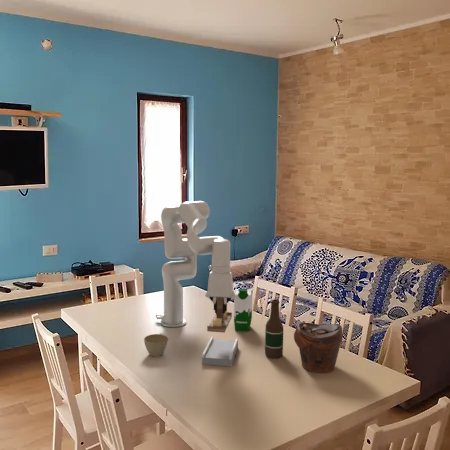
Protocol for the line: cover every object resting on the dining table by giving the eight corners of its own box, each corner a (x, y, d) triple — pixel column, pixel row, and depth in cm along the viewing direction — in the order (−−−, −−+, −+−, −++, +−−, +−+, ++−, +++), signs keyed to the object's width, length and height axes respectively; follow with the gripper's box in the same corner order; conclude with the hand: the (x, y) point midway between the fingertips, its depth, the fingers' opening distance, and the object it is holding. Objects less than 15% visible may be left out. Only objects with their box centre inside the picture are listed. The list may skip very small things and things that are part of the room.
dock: (201, 364, 195) (201, 354, 195) (211, 345, 215) (211, 336, 214) (231, 366, 194) (231, 356, 193) (237, 347, 213) (238, 338, 213)
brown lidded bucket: (284, 361, 199) (286, 319, 197) (324, 354, 207) (327, 314, 205) (307, 380, 183) (310, 334, 181) (350, 372, 191) (353, 328, 188)
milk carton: (232, 331, 234) (233, 290, 231) (234, 324, 243) (235, 285, 240) (251, 331, 233) (252, 291, 230) (252, 325, 242) (252, 286, 239)
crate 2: (218, 317, 207) (218, 310, 207) (219, 314, 210) (219, 308, 210) (225, 317, 207) (225, 310, 207) (226, 315, 210) (226, 308, 209)
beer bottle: (284, 352, 208) (286, 298, 205) (280, 359, 201) (282, 303, 198) (267, 350, 211) (268, 296, 207) (262, 357, 203) (263, 301, 200)
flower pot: (139, 357, 202) (139, 340, 201) (151, 348, 211) (151, 332, 210) (161, 360, 198) (161, 344, 197) (172, 351, 208) (172, 335, 207)
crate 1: (212, 327, 195) (213, 320, 194) (214, 325, 198) (214, 317, 197) (220, 328, 194) (220, 320, 194) (221, 325, 197) (221, 318, 197)
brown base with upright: (224, 332, 193) (225, 298, 191) (207, 331, 194) (207, 297, 192) (231, 317, 211) (232, 286, 209) (215, 316, 212) (216, 285, 210)
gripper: (199, 270, 197) (199, 313, 199) (239, 272, 194) (238, 316, 197) (203, 266, 204) (203, 308, 207) (241, 268, 202) (240, 310, 204)
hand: (220, 311), depth 202 cm, fingers closed on brown base with upright, 2 cm apart
